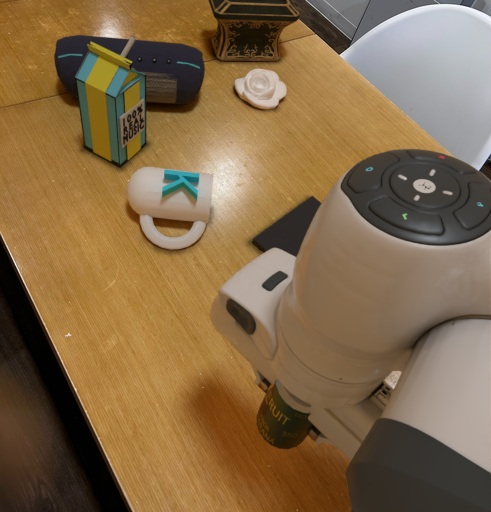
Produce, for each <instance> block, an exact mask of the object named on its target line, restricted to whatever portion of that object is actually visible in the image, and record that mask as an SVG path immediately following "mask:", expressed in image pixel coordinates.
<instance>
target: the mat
mask: <svg viewBox="0 0 491 512" xmlns="http://www.w3.org/2000/svg"><path fill="white" fill-rule="evenodd" d="M321 203H322V202H321V201H319V200H318V198H316V197H315V196H313V195H311V196H310V197H309V198H307V199H305V200H304V201H303V202H302V203H300V204H299V205H297V206H296V207H295V208H293V209H292V210H290V211H289V212H287V213H285V215H283V216H282V217H280V218H279V219H278V220H277V221H275V222H274V223H272V224H271V225H270V226H268V227H267V228H265V229H264V230H263V231H261V232H260V233H259V234H257V235H256V236H255V237H253V238H252V241H251V243H252V244H253V245H254V246H255V247H256V248H257V249H258V250H260V251H261V252H262V253H264V252H266V251H268V250H270V249H272V248H278V249H281V250H283V251H285V252H287V253H289V254H291V255H293V256H295V257H297V254H298V252H299V249H300V247H301V244H302V242H303V240H304V237H305V235H306V233H307V230H308V228H309V226H310V224H311V222H312V220H313V218H314V216H315V214H316V212H317V210H318V208H319V207H320V205H321Z"/></svg>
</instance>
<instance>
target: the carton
mask: <svg viewBox="0 0 491 512" xmlns="http://www.w3.org/2000/svg"><path fill="white" fill-rule="evenodd" d="M128 39H129V41H128V43H127V45H126V46H125V48H124V50H123V51H122V53H121V55H118V54H116V53H114V52H112V51H110V50H108V49H106V48H104V47H102V46H100V45H98V44H95V43H93V42H90V44H87V46H88V48H89V51H88V53H87V55H86V57H85V59H84V61H83V63H82V65H81V67H80V68H79V70H78V72H77V74H76V76H75V81H76V88H77V96H78V97H77V101H78V102H77V103H78V109H79V117H80V123H81V130H82V131H81V132H82V139H83V145H84V150H86V151H88V152H90V153H92V154H94V155H96V157H99V158H101V159H103V160H104V161H106V162H108V163H110V164H112V165H114V166H116V167H117V168H119V169H121V168H122V167H123V166H124V165H126V164H127V163H128V162H130V160H131V159H132V158H133V157H134V156H136V155H137V154H138V153H139V152H140V151H141V150H142V149H143V148H145V147H146V146H147V145H148V144H147V143H148V142H147V102H146V75H145V74H143V73H141V72H139V71H137V70H135V69H133V68H132V61H130V60H128V59H126V58H125V57H126V55H127V54H128V52H129V50H130V49H131V47H132V45H133V44H134V42H135V40H137V37H136V36H134V35H131V36H130V38H128Z"/></svg>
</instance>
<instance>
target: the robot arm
mask: <svg viewBox="0 0 491 512" xmlns="http://www.w3.org/2000/svg"><path fill="white" fill-rule="evenodd" d="M209 320H210V322H211V324H212V326H213V328H214V329H215V331H216V332H217V333H218V334H219V335H220V336H222V337H223V339H225V340H226V341H227V343H229V344H230V345H231V346H232V347H233V348H234V350H236V351H237V352H238V353H239V354H240V355H241V356H242V357H243V358H244V359H245V360H246V361H247V362H248V363H249V364H250V366H251V368H252V371H253V373H254V375H255V380H254V384H255V385H256V386H257V387H258V388H259V389H260V390H261V391H262V392H264V393H265V394H266V392H267V390H268V388H269V386H270V383H271V384H272V385H273V384H274V382H275V380H276V379H278V380H279V381H280V382H281V383H282V385H283V386H284V387H285V388H286V389H287V390H288V391H289V392H290V393H292V394H293V395H294V396H296V397H297V398H299V399H300V400H302V401H304V402H306V403H308V404H310V405H311V407H309V408H310V411H311V414H310V416H309V417H308V420H309V421H310V422H311V423H312V424H313V425H314V426H313V427H312V428H311V429H310V431H309V432H308V433H307V435H308V436H307V437H309V438H310V439H311V440H312V441H313V442H314V444H315V445H317V446H318V447H319V446H321V445H322V443H324V444H327V445H330V446H334V447H335V448H337V450H338V451H340V452H341V453H342V454H343V455H344V456H345V457H346V458H347V459H348V460H349V463H348V465H347V466H346V470H345V480H346V488H347V492H348V498H349V503H350V507H351V511H352V512H491V180H490V178H489V177H487V176H486V175H485V174H484V173H483V172H481V171H480V170H479V169H477V168H476V167H474V166H472V165H471V164H469V163H467V162H465V161H463V160H461V159H459V158H456V157H454V156H451V155H449V154H446V153H442V152H438V151H434V150H429V149H427V150H426V149H419V148H400V149H391V150H386V151H382V152H379V153H375V154H373V155H370V156H368V157H366V158H364V159H362V160H360V161H359V162H357V163H356V164H354V165H353V166H351V167H349V169H347V171H345V172H344V173H342V175H341V176H340V177H339V178H338V179H337V180H336V181H335V182H334V184H332V186H331V187H330V188H329V190H328V191H327V193H326V195H325V197H324V198H323V199H322V202H321V205H320V207H319V208H318V210H317V212H316V214H315V216H314V218H313V220H312V222H311V224H310V226H309V228H308V230H307V233H306V235H305V237H304V240H303V242H302V244H301V247H300V249H299V252H298V254H297V257H295V256H293V255H291V254H289V253H287V252H285V251H283V250H281V249H278V248H272V249H270V250H268V251H266V252H262V253H261V254H260V255H257V256H256V257H255V258H253V259H252V260H250V261H249V262H248V263H246V264H245V265H244V266H242V267H241V268H240V269H238V271H236V272H235V273H234V274H232V275H231V276H230V278H228V279H227V281H225V282H224V283H223V284H222V285H221V286H220V288H219V289H218V292H217V295H216V296H215V297H214V298H213V300H212V303H211V307H210V309H209ZM392 372H401V373H400V375H399V377H398V379H397V381H396V384H395V385H394V388H393V387H392V386H391V385H390V384H389V383H388V382H387V381H385V380H387V378H388V377H389V376H390V375H391V374H392Z"/></svg>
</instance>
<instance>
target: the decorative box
mask: <svg viewBox="0 0 491 512" xmlns="http://www.w3.org/2000/svg"><path fill="white" fill-rule="evenodd" d="M208 3H209V7H210V9H211V12H212V15H213V18H214V19H215V20H216V21H217V26H216V30H215V32H214V33H213V35H212V36H211V39H210V41H211V44H212V47H213V50H214V53H215V57H216V58H217V60H220V61H232V62H233V61H237V62H238V61H239V62H243V61H249V62H250V61H254V62H255V61H257V62H278V61H279V60H281V53H280V45H279V44H280V43H279V42H280V37H281V34H282V32H283V31H284V29H285V28H287V27H289V26H290V25H292V24H295V23H296V22H297V21H299V19H300V15H301V14H300V12H299V10H298V8H297V6H296V4H295V3H294V1H293V0H208Z"/></svg>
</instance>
